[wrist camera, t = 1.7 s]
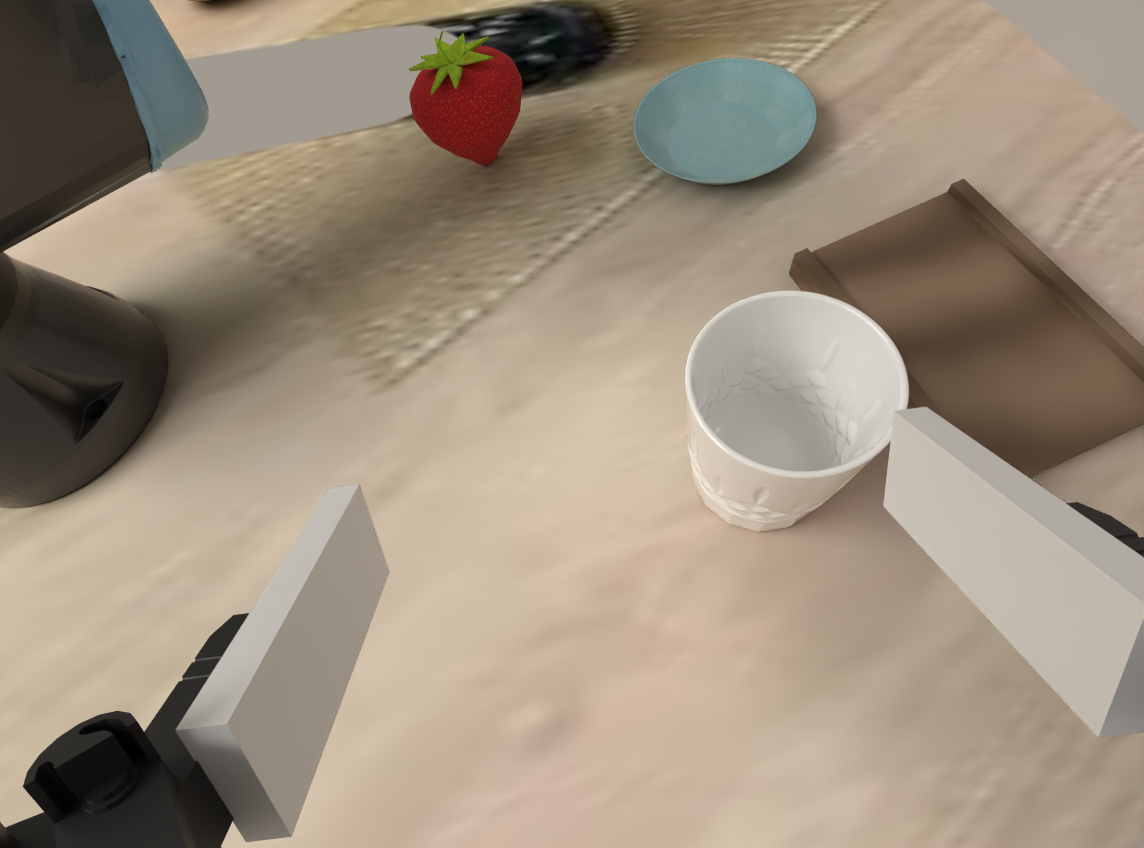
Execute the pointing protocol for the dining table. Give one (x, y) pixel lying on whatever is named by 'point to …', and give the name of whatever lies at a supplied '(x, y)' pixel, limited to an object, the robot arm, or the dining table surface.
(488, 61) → the strawberry
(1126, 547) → the robot arm
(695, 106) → the saucer
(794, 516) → the white cup
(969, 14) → the dining table surface
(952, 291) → the walnut board
